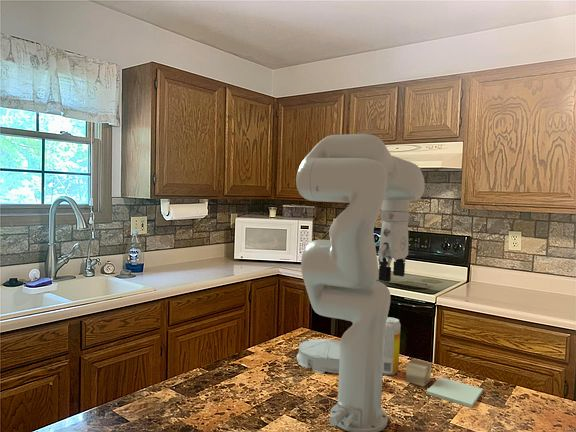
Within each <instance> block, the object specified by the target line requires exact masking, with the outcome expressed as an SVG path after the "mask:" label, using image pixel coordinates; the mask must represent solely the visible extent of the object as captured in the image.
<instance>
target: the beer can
mask: <svg viewBox="0 0 576 432" xmlns="http://www.w3.org/2000/svg"><path fill="white" fill-rule="evenodd" d="M400 344H401V322H400V319H398V318H395V317H390V316H387V321H386V328H385V336H384V354H383V374H382V375H386V376H394V375H396V374H397V373H398V372H399V367H400V366H399V363H400V362H399V361H400V347H401V346H400Z"/></svg>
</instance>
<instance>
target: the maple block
mask: <svg viewBox="0 0 576 432" xmlns="http://www.w3.org/2000/svg"><path fill="white" fill-rule="evenodd" d="M431 373H432V362H429V361H427V360H426V361H425V360H422V359H418V358H415V357H413V358H412V359H411V360H409V361H408V362H407V363H406V370H405V382H408V383H411V384H415V385H416V386H417V385H418V386H421V387H425V386H426V385H428V383H429V382H431V376H432V375H431Z"/></svg>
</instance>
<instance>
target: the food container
mask: <svg viewBox="0 0 576 432" xmlns="http://www.w3.org/2000/svg"><path fill="white" fill-rule="evenodd" d="M340 341H341V340H336V339H331V338H330V339H329V338H317V339H313V338H311V339H310V340H303V341H302V342H300V344H299V345H298V353H297V354H296V360H297V362H298V364H299V365H300V366H301V367H302V368H304V367H305V368H304V369H312V371H314V373H319V374H324V373H325V372H327V373H331V374H339V361H340Z"/></svg>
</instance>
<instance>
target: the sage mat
mask: <svg viewBox="0 0 576 432" xmlns="http://www.w3.org/2000/svg"><path fill="white" fill-rule="evenodd" d="M483 392H484V388H482V387H478V386H474V385H470V384H467V383H463V382H460V381H456V380H452V379H448V378H445V377H442V376H440V377H438V379H437V380H436V381H434V382H433V384H432V385H431V386H430V387H429V388H428V389H427V390H426V393H425V394H426V395H428V396H432V397H435V398H439V399H442V400H445V401H448V402H451V403H454V404H456V405H457V404H458V405H460V406H464V407H467V408H471V409H472V408H473V407H474V405H475V404H476V403H477V401H478V400H479V398H480V397H481V395H482V394H483Z"/></svg>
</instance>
